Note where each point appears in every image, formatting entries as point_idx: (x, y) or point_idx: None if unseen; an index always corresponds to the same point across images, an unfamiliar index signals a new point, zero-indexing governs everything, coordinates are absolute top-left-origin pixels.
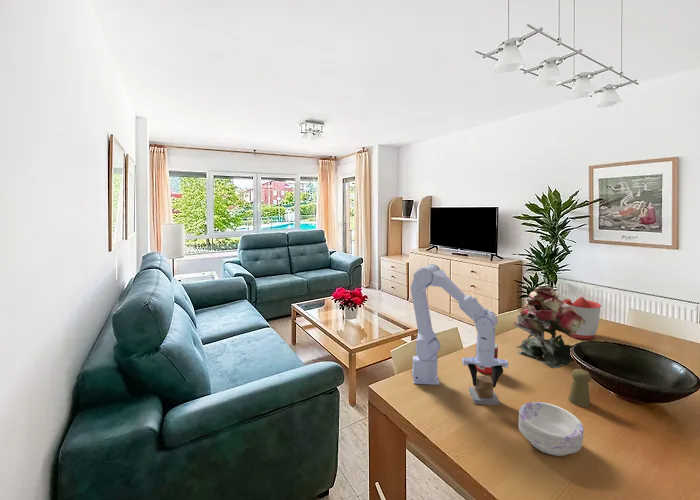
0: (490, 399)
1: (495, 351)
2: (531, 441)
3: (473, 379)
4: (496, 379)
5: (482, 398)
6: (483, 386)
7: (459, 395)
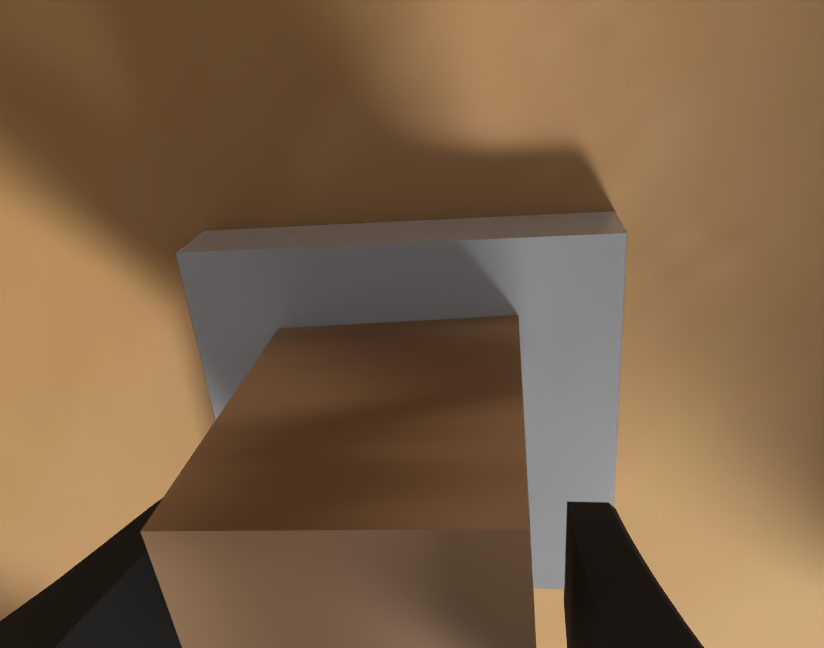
0: (320, 284)
1: None
2: None
3: (692, 634)
4: (21, 632)
5: (457, 299)
6: (418, 452)
7: (806, 412)
